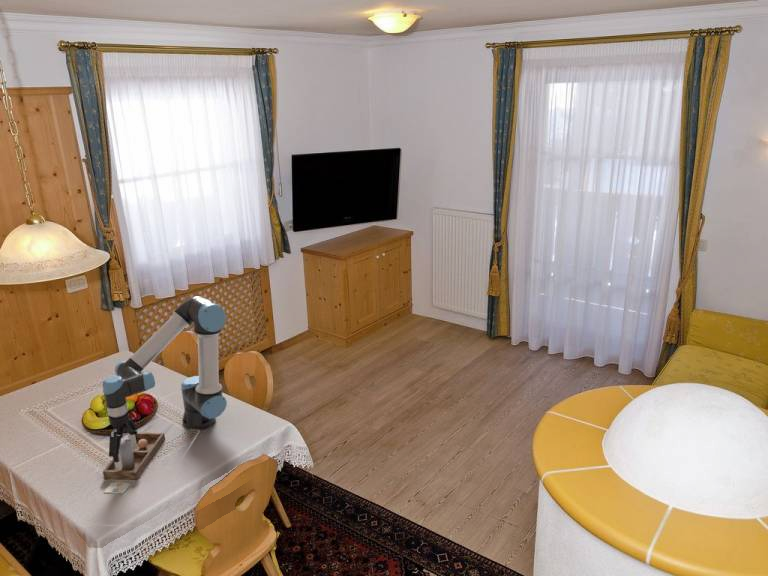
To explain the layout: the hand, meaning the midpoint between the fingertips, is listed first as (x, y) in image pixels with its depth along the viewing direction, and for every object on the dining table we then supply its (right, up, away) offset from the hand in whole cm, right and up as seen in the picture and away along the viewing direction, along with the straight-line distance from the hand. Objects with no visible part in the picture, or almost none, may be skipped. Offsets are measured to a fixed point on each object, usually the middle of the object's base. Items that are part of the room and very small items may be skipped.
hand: (126, 457), depth 244 cm
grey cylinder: (0, -5, +2) cm, 5 cm away
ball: (+1, 0, +15) cm, 15 cm away
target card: (0, -10, -9) cm, 13 cm away
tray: (0, -3, +9) cm, 9 cm away
